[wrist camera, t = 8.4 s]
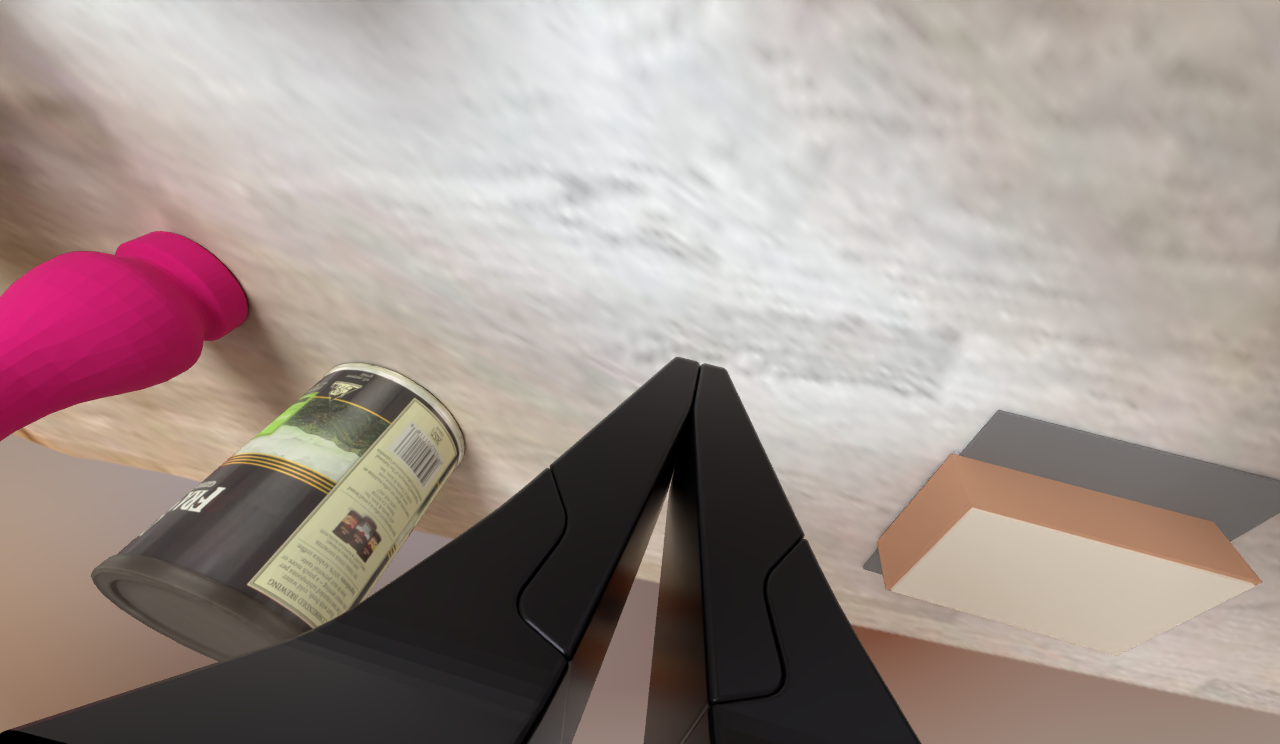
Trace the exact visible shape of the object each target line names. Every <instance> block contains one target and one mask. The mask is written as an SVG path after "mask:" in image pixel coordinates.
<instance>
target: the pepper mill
mask: <svg viewBox="0 0 1280 744" xmlns="http://www.w3.org/2000/svg"><path fill="white" fill-rule="evenodd" d="M247 316H248V304H247V301H246V297H245V294H244V293H243V291H242V289H241V287H240V285H239V284H238V282H237V281H236V279H235V278H234V277H233V275H232V274H231V273H230V271H229V270H228V269H227V268H226V267H225V266H224V265H223V264H222V263H221V262H220V261H219V260H218V259H217V258H216V257H215V256H214V255H213V254H211V253H210V252H209V251H207V250H206V249H205V248H203V247H202V246H200V245H199V244H197V243H195V242H193V241H191V240H189V239H188V238H186V237H184V236H181V235H178V234H174V233H171V232H163V231H156V232H151V233H149V234H146V235H144V236H141V237H138V238H136V239H133V240H131V241H128V242H126V243H123V244H121V245H120V246H119V247H118V248H117V250H116V253H115V255H111V254H107V253H100V252H91V251H76V252H69V253H65V254H61V255H59V256H57V257H55V258H53V259H51V260H48V261H46V262H44V263H42V264H40V265H38V266H36V267H34V268H33V269H31V270H30V271H29V272H27V273H26V274H25V275H23V276H22V277H21V278H19V279H18V280H17V281H15V282H14V283H13V284H12V285H11V286H10V287H9V288H8V289H7V290H6V291H5V292H4V294H3V295H2V296H1V297H0V441H1V440H3V439H4V438H6V437H7V436H9V435H10V434H12V433H13V432H15V431H17V430H19V429H21V428H23V427H25V426H27V425H29V424H31V423H33V422H35V421H37V420H39V419H41V418H43V417H45V416H47V415H49V414H51V413H54V412H57V411H59V410H62V409H65V408H67V407H70V406H73V405H76V404H79V403H83V402H87V401H91V400H95V399H99V398H104V397H109V396H114V395H118V394H123V393H127V392H132V391H137V390H141V389H145V388H148V387H151V386H154V385H157V384H160V383H163V382H166V381H168V380H170V379H172V378H173V377H175V376H177V375H179V374H181V373H183V372H185V371H187V370H188V369H189V368H191V367H192V366H193V365H194V364H195V363H196V362H197V360H198V358H199V357H200V355H201V351H202V348H203V340H204V341H213V340H217V339H219V338H221V337H223V336H224V335H226V334H227V333H229V332H231V331H232V330H234V329H235V328H237V327H239V326H240V325H242V324H243V322H244V321H245V320H246V318H247Z"/></svg>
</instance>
